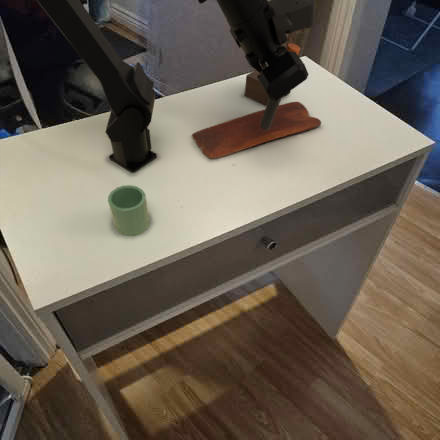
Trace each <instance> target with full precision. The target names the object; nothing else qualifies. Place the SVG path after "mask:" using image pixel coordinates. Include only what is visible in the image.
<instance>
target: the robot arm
mask: <svg viewBox="0 0 440 440" xmlns="http://www.w3.org/2000/svg"><path fill="white" fill-rule="evenodd" d="M197 1H198V3H199V4H204V3H205V2H207V1H208V0H197ZM215 1H216V2H217V4H218V5H219V6H218V7H219V8H220V10H221V11H222V13H223V16H224V18H225V19H226V23H228V26H229V27H230V29H229V32H230V34H231V37H232V38H233V40H234V41H235V43H236V45H237V47H238V48H239V49H240V48H241V49H242V51H243V53H244V54H245V56H244V57H245V60H246V61H247V62H248V64H249V66H250V67H251V68H253V69H254V70H257V71H258V72H259V73H260V74H259V75H258V76H257V78H258V79H259V81H260V83H261V85H262V87H263V88H264V90H265V92H266V94H267V95H268V97H269V99H270V100H271V102H273V101H277V100H278V99H280V98H281V97H283V96H284V97H287V96H288V95H290V94H291V91H292V90H294V89H295V88H297V87H298V86H300V85H301V84H302V83H304V82H305V81H306V80H308V77H309V72H308V70H307V67H306V65H305V63H304V62H303V60H302V59H301V57H300V56H299V54H298V55H297V53H296V52H293V51H288V50H287V49H286V48H287V46H285V45H284V44H285V43H287V42H288V41H289V38H288V36H287V35H290V34H293V33H296V32H299V31H301V30H304V29H310V28H312V27H313V26H314V25H315V9H316V7H315V3H316V0H269V1H268V0H215ZM36 2H37V3H38V4H39V6H40V7H41V8H42V9H43V11H44V12H45V13H46V14H47V16H48V17H49V18H50V19H51V21H52V23H53V24H54V25H55V26H56V27H57V29H58V30H59V31H60V32H61V33H62V35H63V36H64V38H65V39H66V40H67V41H68V43H69V44H70V45H71V46H72V48H73V49H74V50H75V52H76V53H77V54H78V56H80V58H81V60H82V61H83V62H84V63H85V64H86V65H87V67H88V68H89V70H90V71H91V72H92V73H93V75H94V76H95V77H96V78H97V80H98V82H99V83H100V85H101V88H102V90H103V93H104V96H105V99H106V101H107V104H108V106H109V108H110V110H111V111H110V114H109V118H108V120H107V124H106V128H105V132H104V133H105V134H106V136H107V137H108V139H109V141H110V144H111V149H112V153H111V154H110V155H109V156H108V158H109V160H110V161H112V162H113V163H115V164H116V165H118V166H120V167H121V168H123V169H125V170H127V171H128V172H130V173H132V174H133V173H136V172H137V171H139V170H140V169H141V168H143V167H145V166H146V165H148V164H149V163H150V162H152V161H154V160H155V159H157V157H158V154H157V153H156V152H154V151H153V150H152V141H151V133H150V129H149V126H150V124H151V122H152V119H153V114H154V113H153V112H154V106H155V101H156V91H155V89H154V86H155V81H153V80H152V79H150V77H148V75H147V74H146V71H145V69H144V68H143V66H142V64H141V63H140V62H137V63H135V65H133V66H132V65H131V64H129V63H127V62H125V61H124V60H123V59H122V58H121V57H120V55H119V53H117V51H116V50H115V48H114V46H112V44H111V42H110V41H109V40H108V39H107V37H106V36H105V34H104V33H103V31H102V30H101V28H100V27H99V26H98V24H97V23H96V21H95V20H94V19H93V17H92V16H91V14H90V13H89V11H88V10H87V8H86V7H85V6H84V4H83V3H82V2H81V0H36ZM284 97H283V98H284Z"/></svg>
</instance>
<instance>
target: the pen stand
mask: <svg viewBox="0 0 440 440" xmlns="http://www.w3.org/2000/svg"><path fill="white" fill-rule="evenodd" d="M259 74H260V73H259V72H258V71H257V70H255V69H254V70H252V71H251V72H249V73H247V74H246V75H245V86H244V97H246V98H248V99H250V100H253V101H254V102H257V103H259V104H262V105H264V106H266V105H267V103H268V100H269V97H268V95H267V94H266V92H265V90H264V88H263V87H262V85H261V83H260V81H259V79H258V78H257V76H258V75H259ZM284 97H285V96H283V97H282V98H281V100H282V99H283V98H284Z"/></svg>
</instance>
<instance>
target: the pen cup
mask: <svg viewBox="0 0 440 440" xmlns="http://www.w3.org/2000/svg"><path fill="white" fill-rule="evenodd" d="M146 195H147V194H146V193H145V191H144V190H143V189H142V188H141V187H139V186H136V185H130V184H129V185H121V186H117V187H116V188H114V189H112V190H111V191H110V192H109V194H108V196H107V203H108V206H109V210H110V214H111V218H112V222H113V225H114V228H115V230H116V231H117V232H118V233H119V234H121V235H124V236H127V237H133V236H138V235H140V234H142V233H145V231H146V230H147V229H148V228H149V226H150V213H149V208H148V203H147V196H146Z"/></svg>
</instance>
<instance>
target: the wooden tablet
mask: <svg viewBox="0 0 440 440" xmlns="http://www.w3.org/2000/svg"><path fill="white" fill-rule="evenodd" d="M264 111H265V109H262V110H257V111H255V112H252V113H248V114H246V115H242V116H240V117H235V118H233V119H230V120H227V121H224V122H221V123H218V124H214V125H212V126H209V127H206V128H203V129H200V130H198V131H195V132H194V133H192V134H191V137H192V139H193V140H194V142H195V143H196V145H197V146H198V148H200V150H201V152H202V153H203V154H204V155H205V156H206V157H207V158H208V159H217V158H222V157H226V156H228V155H231V154H234V153H236V152H240V151H242V150H245V149H248V148H251V147H254V146H258V145H261V144H263V143H267V142H269V141H273V140H276V139H279V138H284V137H287V136H290V135H294V134H298V133H302V132H305V131H309V130H312V129H315V128H317V127H320V126H322V121H321V119H319V118H318V117H313V116H310V114H309V111H308V109H307V107H306V106H305V105H304V104H303V103H301V102H299V101H291V102H286V103H282V104H279V106H278V108H277V111H276V114H275V116H274V119H273V122H272V124H271V127H270V129H269V130H264V129H262V128H261V127H260V123H261V120H262V117H263V114H264Z"/></svg>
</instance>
